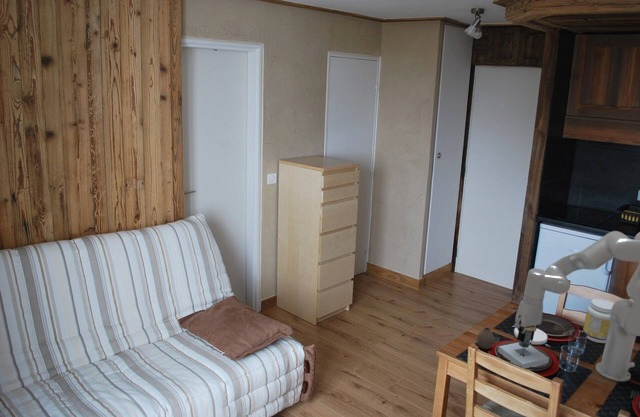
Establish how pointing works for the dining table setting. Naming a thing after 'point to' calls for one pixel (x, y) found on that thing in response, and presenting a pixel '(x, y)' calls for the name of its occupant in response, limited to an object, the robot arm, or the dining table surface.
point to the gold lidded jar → (527, 336)
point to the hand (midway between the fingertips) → (524, 339)
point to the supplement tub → (598, 320)
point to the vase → (485, 338)
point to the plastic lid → (535, 336)
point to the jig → (529, 360)
